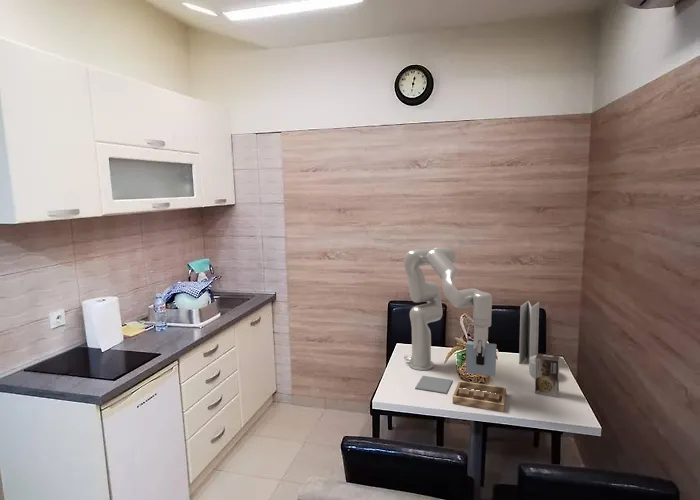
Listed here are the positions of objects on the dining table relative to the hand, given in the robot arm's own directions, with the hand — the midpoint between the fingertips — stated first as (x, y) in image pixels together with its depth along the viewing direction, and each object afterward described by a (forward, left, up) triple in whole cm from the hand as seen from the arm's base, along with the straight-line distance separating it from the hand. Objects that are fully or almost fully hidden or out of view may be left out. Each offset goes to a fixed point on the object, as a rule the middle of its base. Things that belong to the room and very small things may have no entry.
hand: (480, 362), depth 181 cm
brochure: (+18, +48, -15) cm, 53 cm away
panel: (0, 0, -5) cm, 5 cm away
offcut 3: (+6, -8, -15) cm, 18 cm away
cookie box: (+26, +12, -15) cm, 32 cm away
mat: (-21, +2, -14) cm, 25 cm away
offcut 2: (0, -8, -15) cm, 17 cm away
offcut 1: (-6, -8, -15) cm, 18 cm away
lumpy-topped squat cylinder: (+25, +30, -15) cm, 42 cm away
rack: (0, -4, -14) cm, 15 cm away
